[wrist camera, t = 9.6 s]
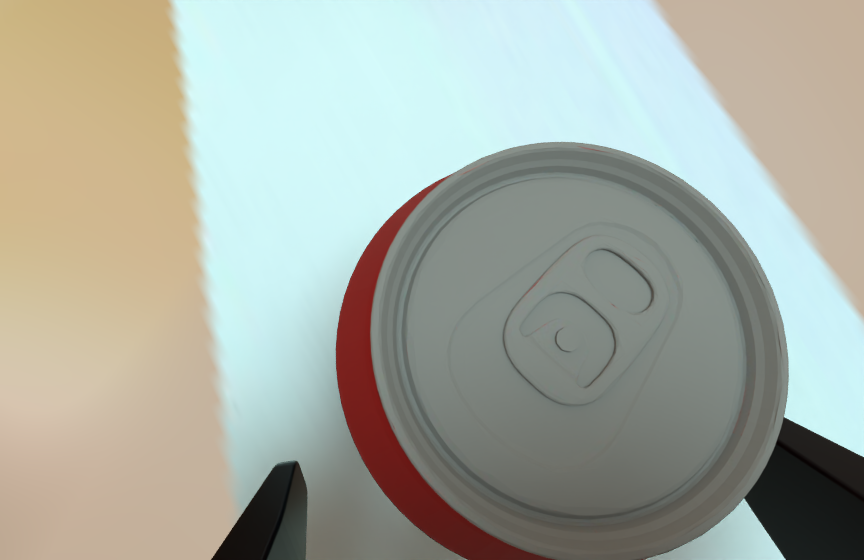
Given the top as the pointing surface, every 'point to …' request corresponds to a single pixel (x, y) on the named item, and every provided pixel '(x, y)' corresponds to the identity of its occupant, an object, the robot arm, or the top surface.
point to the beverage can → (562, 358)
